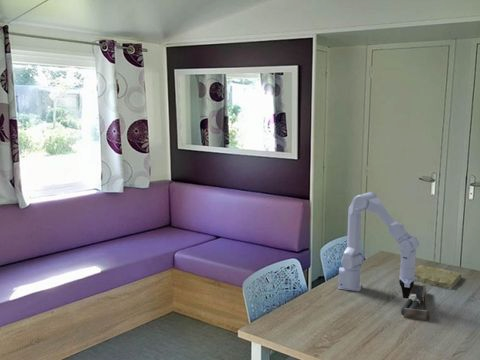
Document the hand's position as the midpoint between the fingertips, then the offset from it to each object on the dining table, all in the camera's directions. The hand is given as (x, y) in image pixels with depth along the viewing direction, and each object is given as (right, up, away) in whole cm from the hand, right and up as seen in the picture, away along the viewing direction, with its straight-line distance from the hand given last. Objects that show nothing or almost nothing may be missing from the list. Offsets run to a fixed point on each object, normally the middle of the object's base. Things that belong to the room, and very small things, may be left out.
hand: (405, 297), depth 202 cm
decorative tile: (+23, +1, +28) cm, 36 cm away
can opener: (+1, -3, -3) cm, 5 cm away
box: (+4, -3, -1) cm, 4 cm away
